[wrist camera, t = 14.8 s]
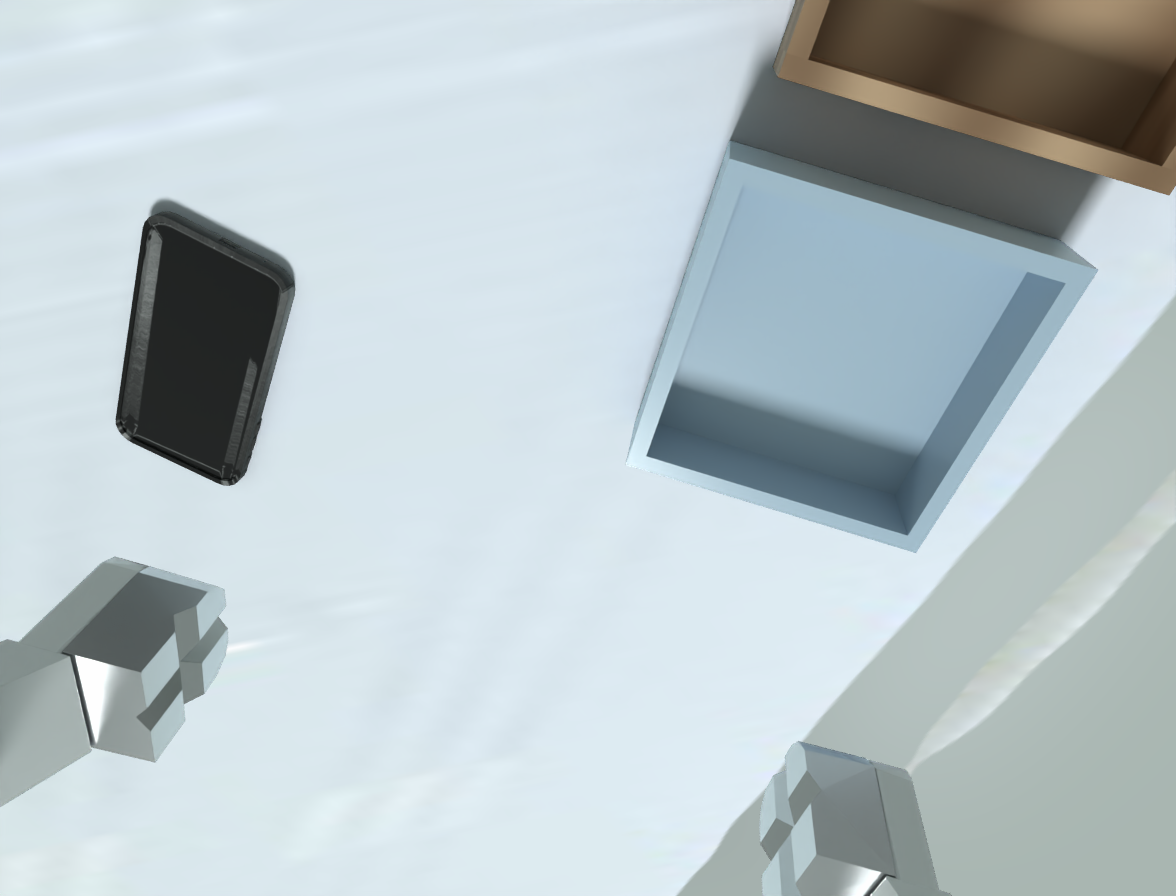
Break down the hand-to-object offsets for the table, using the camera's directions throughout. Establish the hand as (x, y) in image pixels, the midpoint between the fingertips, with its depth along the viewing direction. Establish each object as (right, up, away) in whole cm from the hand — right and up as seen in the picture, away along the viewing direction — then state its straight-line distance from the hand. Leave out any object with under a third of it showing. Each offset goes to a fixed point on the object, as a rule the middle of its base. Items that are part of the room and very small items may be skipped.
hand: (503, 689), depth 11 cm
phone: (-20, +9, +32) cm, 39 cm away
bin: (+12, +8, +26) cm, 30 cm away
